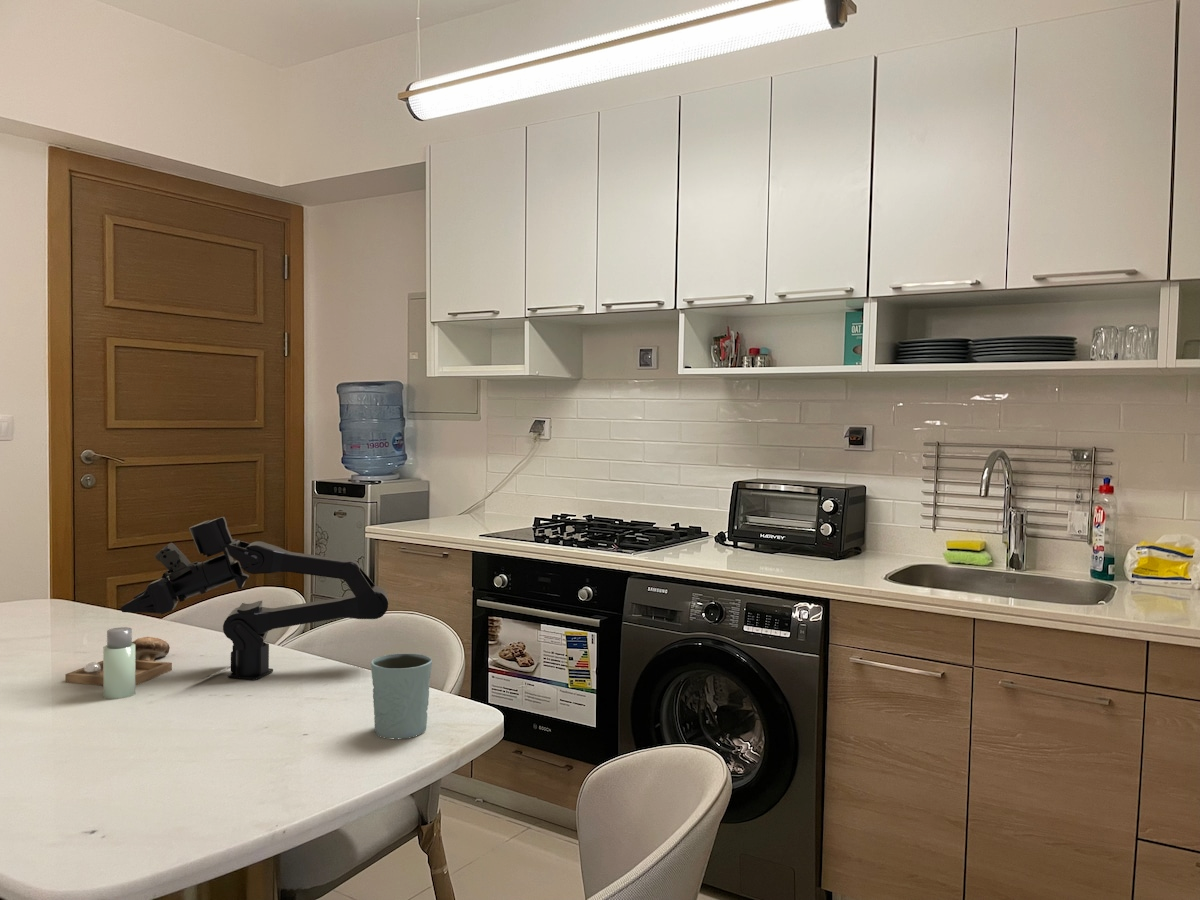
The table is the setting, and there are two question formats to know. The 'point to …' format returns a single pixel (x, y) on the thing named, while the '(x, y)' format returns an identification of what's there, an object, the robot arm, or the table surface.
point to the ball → (93, 669)
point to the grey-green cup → (401, 694)
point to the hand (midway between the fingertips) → (128, 604)
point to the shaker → (119, 664)
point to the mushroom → (150, 648)
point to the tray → (142, 673)
